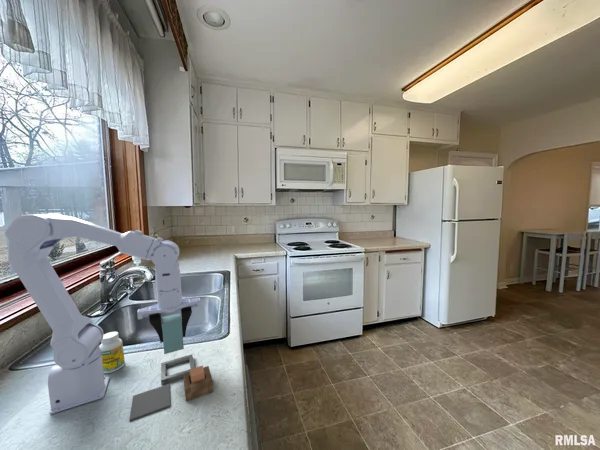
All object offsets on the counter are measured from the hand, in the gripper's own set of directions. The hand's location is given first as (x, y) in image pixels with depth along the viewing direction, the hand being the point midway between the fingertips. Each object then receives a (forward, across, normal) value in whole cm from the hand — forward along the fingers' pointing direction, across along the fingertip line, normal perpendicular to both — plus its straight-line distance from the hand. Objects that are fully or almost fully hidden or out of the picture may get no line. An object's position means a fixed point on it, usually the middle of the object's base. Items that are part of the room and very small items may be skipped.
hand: (173, 337), depth 67 cm
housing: (+10, +5, -9) cm, 14 cm away
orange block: (+9, +5, -9) cm, 14 cm away
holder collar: (+10, +1, +1) cm, 10 cm away
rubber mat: (+10, -5, -8) cm, 14 cm away
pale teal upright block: (+3, 0, 0) cm, 3 cm away
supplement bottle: (+10, -15, +12) cm, 22 cm away
